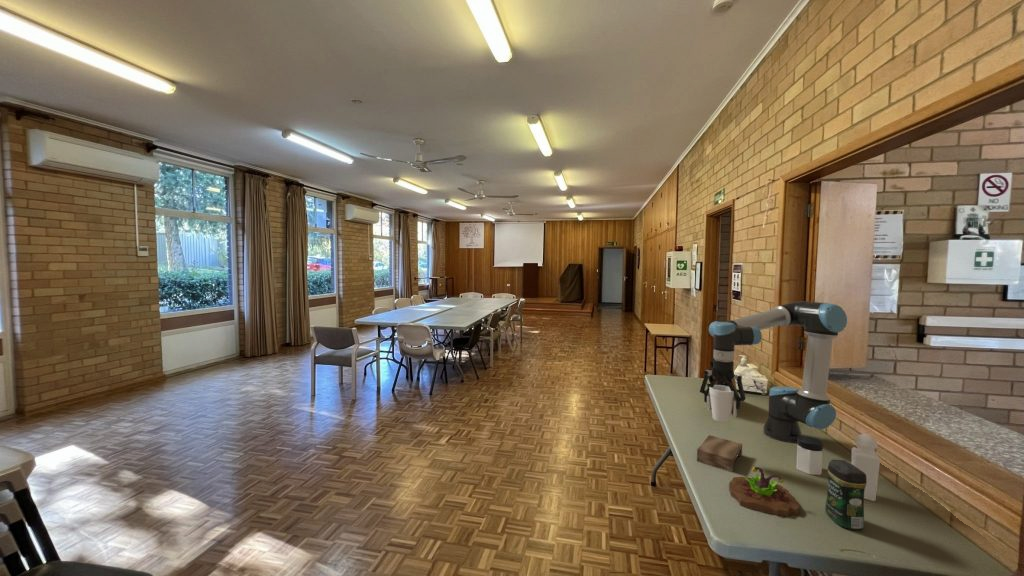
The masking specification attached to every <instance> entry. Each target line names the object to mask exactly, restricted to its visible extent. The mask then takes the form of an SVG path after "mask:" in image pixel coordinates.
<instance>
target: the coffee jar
mask: <svg viewBox="0 0 1024 576" xmlns="http://www.w3.org/2000/svg"><path fill="white" fill-rule="evenodd" d="M827 475H828V476H827V477H828V478H827V479H828V480H827V481H828V482H827V493H826V501H825V507H824V508H825V513H826V515H827V516H828V517H829V518H830V519H831V520H832V521H833V522H834V523H835V524H837V525H838V526H840V527H841V528H845V529H848V530H851V531H853V530H855V531H858V530H863V529H864V528H865V499H864V490H865V487H866V484H867V483H866V482H867V481H866V474H865V473H864V472H862V471H861V470H860V469H858V468H857V467H855V466H854V465H852V463H850V462H849V461H847V460H845V459H831V460H830V461H829V462H828V465H827Z"/></svg>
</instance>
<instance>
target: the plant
mask: <svg viewBox="0 0 1024 576" xmlns="http://www.w3.org/2000/svg"><path fill="white" fill-rule="evenodd" d="M751 470H752V472H754V473H755V472H757V471H758V472H759V473H760V475H759V474H756V475H755V477H754V476H750V477H748V476H746V477H745V476H736V477H735V476H734V477H732V480H730V481H729V482H728V491H729V495H730V497H732V498H734V499H735V500H736V502H737V503H738V504H739V506H740V507H743V508H746V509H750V510H755V511H758V512H762V513H767V514H768V513H769V514H771V515H774V516H777V517H779V516H781V517H786V516H787V517H789V516H790V515H794V516H798V515H799V514H800V504H799V503H798V501H796V499H795V498H794V496H793V495H792V493H791V492H789V490H788V489H786V488H785V487H784V486H782V485H780V484H778V482H779V483H781V484H783V482H784V479H783V478H782V477H780V476H779V475H776V474H774V475H773V474H772V475H771V474H770V475H769V476H767V477H766V476H765V473H764V469H763V468H761V467H759V466H758V467H757V466H754V467H752V469H751ZM773 478H778V482H777V481H770V480H772V479H773Z"/></svg>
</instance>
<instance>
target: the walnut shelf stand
mask: <svg viewBox="0 0 1024 576" xmlns="http://www.w3.org/2000/svg"><path fill="white" fill-rule="evenodd" d="M696 452H697V454H696V462H699V463H701V464H705V465H708V466H711V465H712V466H711V467H714V466H715V468H718V469H721V468H722V469H721V470H724V469H725V471H727V470H728V471H727V472H731V471H733V472H734V462H735V460H736V458H737V457H742V456H743V443H740V442H737V441H733V440H729V439H727V438H726V439H725V438H722V437H719V436H715V435H710V434H709V435H708V436H707V437H706V438H705V440H704V441H703V442H702V443H701V444H700V446H698V448H697V451H696ZM737 455H739V456H737Z"/></svg>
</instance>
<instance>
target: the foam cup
mask: <svg viewBox="0 0 1024 576" xmlns="http://www.w3.org/2000/svg"><path fill="white" fill-rule="evenodd" d="M709 393H710V399H711V408H712V409H711V408H710V409H711V416H712V419H713V420H715V421H717V422H721V423H728V422H730V420H731V416H732V410H733V409H732V406H733V401H734V391H731V390H730V388H729V387H728V386H723V385H714V386H713V388H712V387H709ZM709 393H708V394H709Z"/></svg>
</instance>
